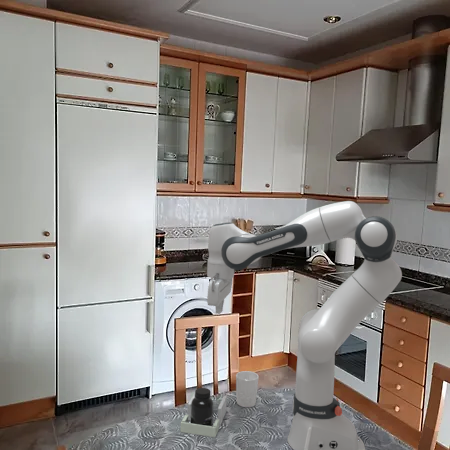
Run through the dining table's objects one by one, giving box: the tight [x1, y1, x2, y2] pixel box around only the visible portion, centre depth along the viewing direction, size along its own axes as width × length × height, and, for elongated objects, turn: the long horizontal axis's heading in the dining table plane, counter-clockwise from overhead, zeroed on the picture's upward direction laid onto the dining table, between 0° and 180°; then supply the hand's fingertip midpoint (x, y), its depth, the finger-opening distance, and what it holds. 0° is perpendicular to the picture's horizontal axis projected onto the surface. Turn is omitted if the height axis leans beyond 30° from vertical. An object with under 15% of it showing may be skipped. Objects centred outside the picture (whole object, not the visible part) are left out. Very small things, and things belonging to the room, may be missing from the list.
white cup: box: [235, 370, 260, 408], centre depth 153 cm, size 8×8×10 cm
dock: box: [180, 414, 220, 438], centre depth 134 cm, size 11×5×3 cm, turn 78°
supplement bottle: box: [190, 387, 214, 427], centre depth 135 cm, size 7×7×12 cm
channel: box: [186, 392, 227, 426], centre depth 143 cm, size 11×8×6 cm
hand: (219, 312), depth 144 cm, fingers closed
